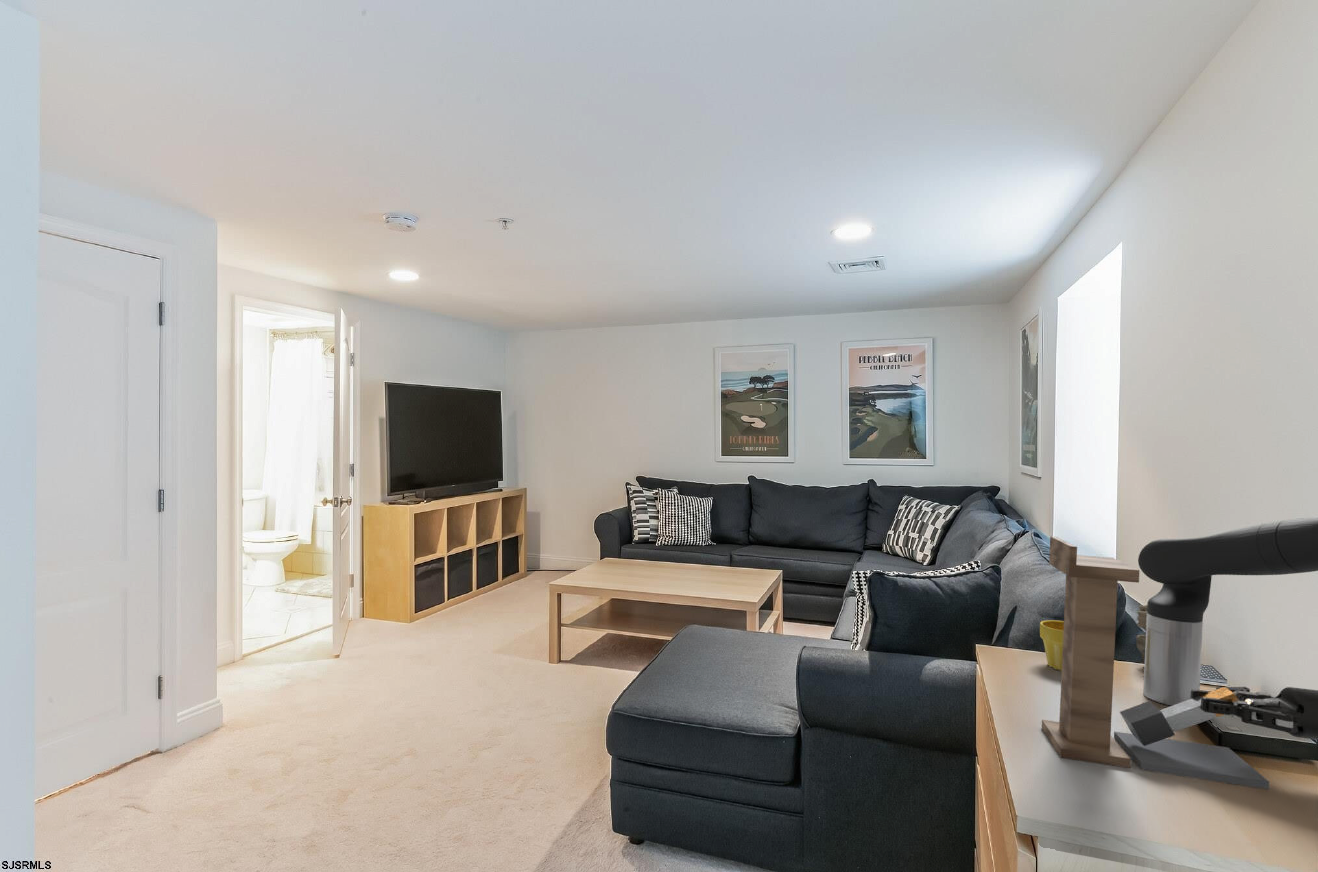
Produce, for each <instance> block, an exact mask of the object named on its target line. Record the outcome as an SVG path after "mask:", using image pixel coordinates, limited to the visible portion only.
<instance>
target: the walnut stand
mask: <svg viewBox="0 0 1318 872" xmlns="http://www.w3.org/2000/svg"><path fill="white" fill-rule="evenodd" d="M1048 557H1049V559H1048V564H1049V565H1050V566H1052V567H1053V568H1055V569H1056V570H1057V571H1059V572H1061V573H1062V574H1065V590H1064V591H1065V592H1064V614H1063V615H1064V616H1063V621H1064V632H1063V654H1062V671H1061V678H1060V679H1061V680H1060V703H1059V720H1058V721H1054V720H1049V719H1042V720H1041V729H1042V731H1043V732H1044V734H1045V735H1046V737H1047V739H1048V740H1049V742H1050V743H1051V745H1052V744H1053V745H1052V746H1053V748H1054V749H1055V750H1056V752H1057V754H1058V755H1059V757H1060V758H1061V757H1063V759H1069V760H1075V761H1081V762H1082V761H1083V762H1089V763H1095V764H1101V765H1110V766H1116V767H1121V768H1128V769H1131V767H1132V766H1131V765H1132V763H1131V761H1132V759H1131V757H1130V756H1129V755H1128V754H1127V753H1126V752H1125V750H1124V749H1123V748H1122V747H1121V746H1120V745H1119V744H1118V742H1117V741H1116V740H1115V739H1114V737H1113V736H1112V733H1111V731H1112V714H1113V713H1112V711H1113V710H1112V709H1113V690H1114V689H1113V687H1114V673H1115V672H1114V670H1115V668H1114V667H1115V651H1116V650H1115V647H1116V627H1117V626H1116V625H1117V624H1116V623H1117V621H1116V620H1117V602H1118V582H1127V583H1138V584H1139V583H1140V570H1139V569H1138V568H1136V567H1133V566H1131V565H1129V564H1127V563H1125V562H1122V561H1120V560H1118V559H1116V558H1114V557H1107V556H1106V557H1105V556H1097V555H1096V556H1094V555H1093V556H1092V555H1082V554H1078V546H1076V545H1074V544H1072V543H1070V542H1068V541H1066V540H1064V539H1062V538H1059V537H1058V536H1052V535H1050V538H1049V556H1048Z"/></svg>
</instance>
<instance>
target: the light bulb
mask: <svg viewBox="0 0 1318 872" xmlns="http://www.w3.org/2000/svg"><path fill="white" fill-rule="evenodd" d="M1138 608H1139V610H1137V612H1136V613H1137V615H1138V616H1137V617H1136V619H1137V621H1138V622H1137V627H1138V628H1141V629H1143V630H1144V631H1145V632H1146V623H1147V604H1146V605H1139V606H1138ZM1145 646H1146V633H1144V634H1138V635H1137V634H1136V648H1137V650H1138V651H1139V653H1140V656H1141V663H1142V664H1143V665H1145Z"/></svg>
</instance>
